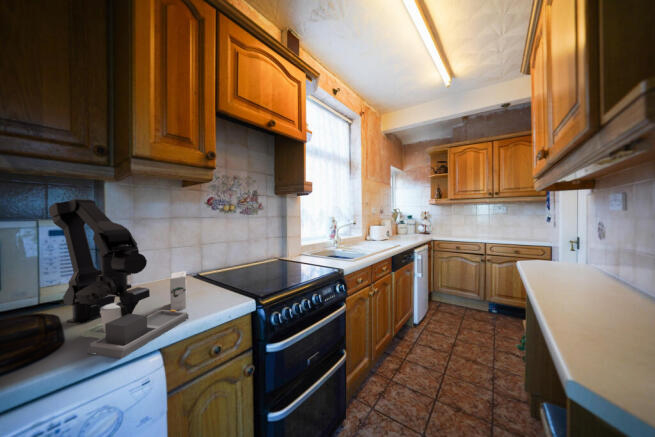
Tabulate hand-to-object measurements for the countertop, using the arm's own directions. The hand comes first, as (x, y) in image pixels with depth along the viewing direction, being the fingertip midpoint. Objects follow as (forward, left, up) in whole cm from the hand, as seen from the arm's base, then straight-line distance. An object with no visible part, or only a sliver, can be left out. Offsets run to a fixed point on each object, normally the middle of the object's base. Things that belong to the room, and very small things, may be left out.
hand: (116, 321), depth 71 cm
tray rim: (0, 0, -2) cm, 2 cm away
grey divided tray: (+11, -1, -2) cm, 12 cm away
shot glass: (0, 0, -2) cm, 2 cm away
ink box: (+5, +18, -2) cm, 19 cm away
